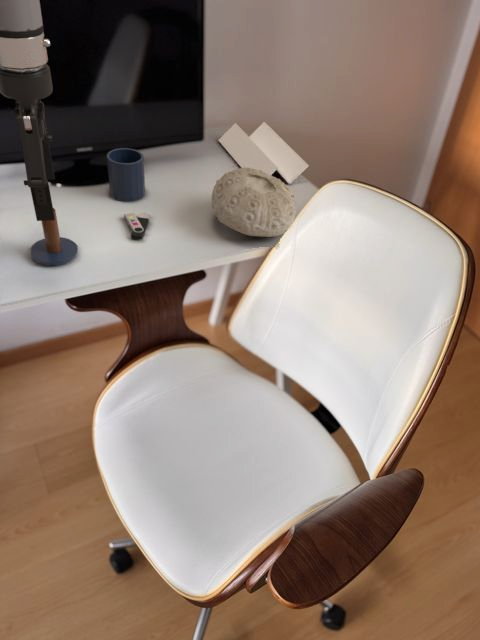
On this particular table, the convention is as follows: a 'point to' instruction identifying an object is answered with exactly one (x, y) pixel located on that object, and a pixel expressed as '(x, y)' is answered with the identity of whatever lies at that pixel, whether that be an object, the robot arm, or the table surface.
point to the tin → (126, 174)
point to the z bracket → (263, 152)
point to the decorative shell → (253, 203)
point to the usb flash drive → (137, 224)
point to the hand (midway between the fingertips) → (46, 198)
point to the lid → (53, 246)
